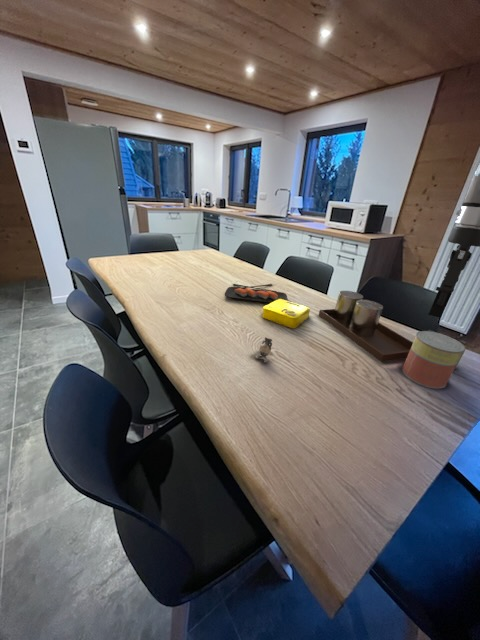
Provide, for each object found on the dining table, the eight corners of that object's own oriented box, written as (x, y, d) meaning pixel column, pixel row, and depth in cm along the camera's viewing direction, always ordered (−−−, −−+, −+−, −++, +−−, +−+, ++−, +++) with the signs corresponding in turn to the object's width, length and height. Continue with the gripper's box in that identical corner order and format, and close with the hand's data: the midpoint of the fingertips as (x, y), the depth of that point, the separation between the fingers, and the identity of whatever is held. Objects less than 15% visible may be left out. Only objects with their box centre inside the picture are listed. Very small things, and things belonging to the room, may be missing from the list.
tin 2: (379, 335, 97) (389, 308, 92) (359, 338, 94) (368, 310, 90) (362, 324, 105) (370, 299, 100) (343, 326, 102) (351, 300, 97)
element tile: (309, 317, 109) (312, 306, 107) (294, 329, 98) (296, 318, 96) (278, 307, 117) (279, 296, 115) (260, 317, 106) (261, 306, 104)
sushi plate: (222, 299, 120) (223, 291, 118) (233, 280, 146) (233, 273, 145) (287, 307, 117) (288, 299, 115) (285, 286, 144) (286, 280, 142)
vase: (262, 350, 84) (264, 333, 81) (276, 357, 81) (279, 340, 78) (251, 356, 80) (253, 339, 77) (266, 364, 77) (269, 346, 74)
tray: (420, 357, 87) (424, 349, 86) (380, 364, 82) (383, 355, 80) (351, 314, 116) (353, 307, 114) (318, 316, 110) (319, 309, 109)
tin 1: (360, 323, 106) (368, 298, 101) (342, 325, 103) (349, 299, 98) (345, 314, 113) (352, 290, 109) (328, 315, 110) (334, 290, 106)
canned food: (451, 379, 77) (470, 344, 72) (438, 394, 70) (457, 356, 65) (411, 360, 85) (425, 327, 80) (395, 371, 78) (409, 336, 73)
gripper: (455, 223, 74) (426, 294, 83) (450, 227, 56) (414, 317, 65) (490, 227, 70) (455, 301, 79) (496, 232, 52) (451, 327, 61)
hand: (437, 308), depth 72 cm, fingers open, 13 cm apart
